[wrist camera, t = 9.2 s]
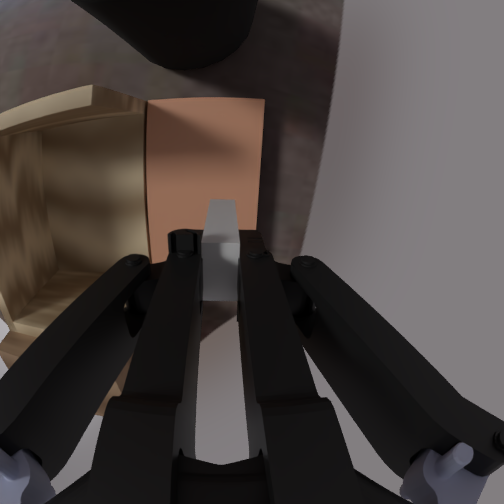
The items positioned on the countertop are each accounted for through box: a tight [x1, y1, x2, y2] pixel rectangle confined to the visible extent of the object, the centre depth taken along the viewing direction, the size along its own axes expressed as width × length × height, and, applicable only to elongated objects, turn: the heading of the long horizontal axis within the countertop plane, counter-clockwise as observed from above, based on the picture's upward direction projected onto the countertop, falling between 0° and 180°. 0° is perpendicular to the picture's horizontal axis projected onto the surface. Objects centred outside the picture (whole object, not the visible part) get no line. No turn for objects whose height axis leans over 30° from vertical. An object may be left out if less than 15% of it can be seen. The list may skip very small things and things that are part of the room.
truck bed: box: [0, 84, 152, 416], centre depth 18 cm, size 24×13×14 cm, turn 177°
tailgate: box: [146, 97, 265, 264], centre depth 24 cm, size 18×1×10 cm
